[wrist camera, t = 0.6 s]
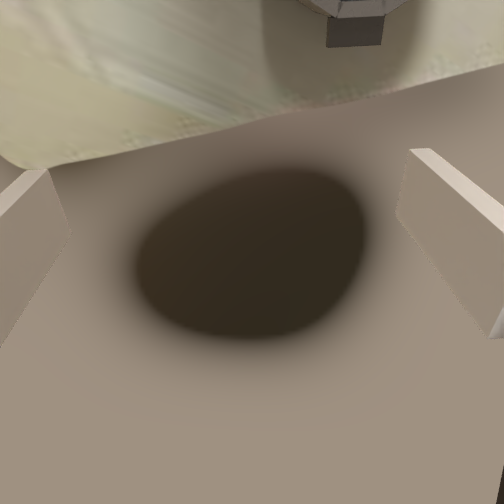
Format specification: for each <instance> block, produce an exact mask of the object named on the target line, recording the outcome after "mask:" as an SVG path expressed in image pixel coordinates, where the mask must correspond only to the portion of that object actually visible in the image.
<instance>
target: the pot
mask: <svg viewBox="0 0 504 504" xmlns="http://www.w3.org/2000/svg"><path fill="white" fill-rule="evenodd" d="M298 1H299V2H301V3H302V4H304V5H305V6H307V7H308V8H310V9H311V10H313V11H314V12H316V13H320V14H323V15H327V16H331V17H328V22H327V38H326V47H328V48H333V47H351V46H369V45H381V39H382V32H383V25H384V18H385V15H387V14H388V13H390V12H391V11H393V10H394V9H396V8H397V7H399V6H400V5H402V4H403V3H405V2H406V1H408V0H298Z"/></svg>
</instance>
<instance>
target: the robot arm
mask: <svg viewBox="0 0 504 504" xmlns="http://www.w3.org/2000/svg"><path fill="white" fill-rule="evenodd" d="M395 215H396V217H397V218H398V220H399V221H400V222H401V224H402V225H403V226H404V227H405V229H406V230H407V232H408V233H409V234H410V236H411V237H412V238H413V240H414V241H415V242H416V244H417V245H418V246H419V248H420V249H421V250H422V252H423V253H424V255H425V256H426V257H427V259H428V260H429V261H430V263H431V264H432V265H433V266H434V268H435V269H436V271H437V272H438V273H439V275H440V276H441V278H442V279H443V280H444V281H445V283H446V284H447V286H448V287H449V288H450V290H451V291H452V292H453V294H454V295H455V296H456V298H457V299H458V300H459V302H460V303H461V304H462V306H463V307H464V309H465V310H466V311H467V312H468V314H469V315H470V317H471V318H472V319H473V321H474V322H475V323H476V325H477V326H478V327H479V329H480V330H481V331H482V333H483V334H484V335H485V337H486V338H487V339H497V338H504V206H502V205H501V204H500V203H499V202H497V201H496V200H495V199H493V198H492V197H491V196H489V195H488V194H487V193H486V192H485V191H483V190H482V189H481V188H479V187H478V186H477V185H475V184H474V183H473V182H472V181H471V180H469V179H468V178H467V177H466V176H464V175H463V174H462V173H461V172H459V171H458V170H457V169H455V168H454V167H453V166H452V165H450V164H449V163H447V161H445V160H444V159H443V158H441V157H440V156H439V155H438V154H436V153H435V152H434V151H433V150H431V149H430V148H423V149H409V152H408V156H407V161H406V166H405V171H404V175H403V180H402V184H401V189H400V194H399V198H398V203H397V208H396V212H395ZM71 235H72V232H71V230H70V227H69V224H68V222H67V219H66V217H65V214H64V211H63V208H62V206H61V203H60V200H59V198H58V195H57V192H56V190H55V187H54V184H53V182H52V179H51V177H50V174H49V171H48V169H43V170H27V171H25V172H24V173H23V174H22V175H21V176H19V177H18V178H17V179H16V180H15V181H14V182H13V183H12V184H11V185H10V186H8V187H7V188H6V189H5V190H4V191H3V192H2V193H1V194H0V347H1V346H2V344H3V342H4V341H5V339H6V338H7V336H8V335H9V333H10V331H11V330H12V328H13V327H14V325H15V323H16V322H17V320H18V319H19V317H20V316H21V314H22V312H23V311H24V309H25V308H26V306H27V304H28V303H29V301H30V300H31V298H32V297H33V295H34V293H35V292H36V290H37V289H38V287H39V286H40V284H41V282H42V281H43V279H44V278H45V276H46V274H47V273H48V271H49V270H50V268H51V267H52V265H53V263H54V262H55V260H56V259H57V257H58V255H59V254H60V252H61V251H62V249H63V248H64V246H65V244H66V243H67V241H68V239H69V238H70V236H71ZM496 504H504V467H503V472H502V477H501V482H500V487H499V492H498V497H497V502H496Z"/></svg>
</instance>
